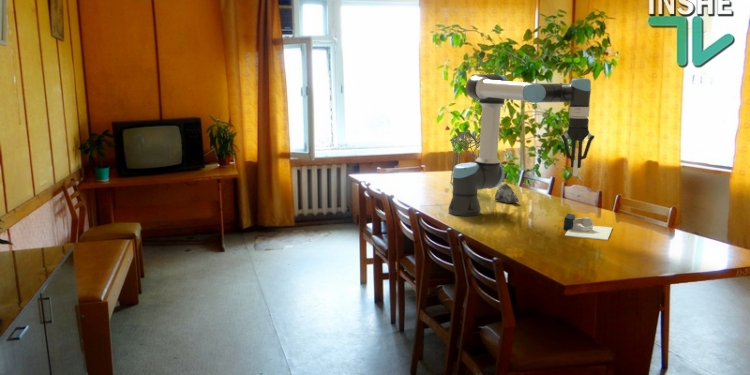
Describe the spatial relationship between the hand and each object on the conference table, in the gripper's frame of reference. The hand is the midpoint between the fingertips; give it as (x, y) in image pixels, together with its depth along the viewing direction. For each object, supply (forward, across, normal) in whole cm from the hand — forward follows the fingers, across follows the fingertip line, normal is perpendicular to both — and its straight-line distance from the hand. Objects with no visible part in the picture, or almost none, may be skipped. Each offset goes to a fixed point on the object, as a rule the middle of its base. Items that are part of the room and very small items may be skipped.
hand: (575, 175), depth 237 cm
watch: (+20, -3, +2) cm, 20 cm away
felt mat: (+23, +7, 0) cm, 24 cm away
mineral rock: (+24, -39, +48) cm, 67 cm away
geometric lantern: (+24, -68, +68) cm, 100 cm away
